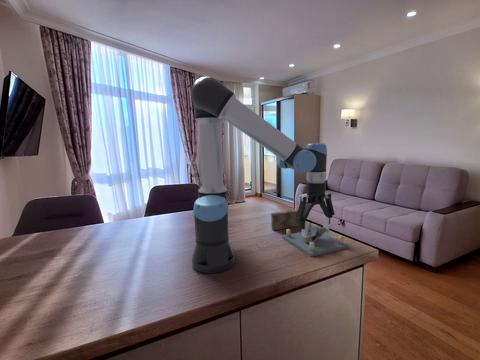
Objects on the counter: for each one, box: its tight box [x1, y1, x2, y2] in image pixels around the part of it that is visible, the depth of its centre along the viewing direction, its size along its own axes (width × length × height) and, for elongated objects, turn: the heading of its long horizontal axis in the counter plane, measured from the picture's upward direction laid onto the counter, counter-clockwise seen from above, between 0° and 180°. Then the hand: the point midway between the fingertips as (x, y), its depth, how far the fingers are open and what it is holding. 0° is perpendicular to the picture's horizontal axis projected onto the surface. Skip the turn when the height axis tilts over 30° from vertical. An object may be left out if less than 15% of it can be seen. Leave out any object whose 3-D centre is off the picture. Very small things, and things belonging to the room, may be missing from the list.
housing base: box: [281, 223, 349, 258], centre depth 104 cm, size 18×20×4 cm
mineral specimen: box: [303, 222, 327, 243], centre depth 102 cm, size 10×8×10 cm
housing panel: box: [270, 208, 300, 231], centre depth 121 cm, size 16×3×8 cm, turn 112°
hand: (315, 234), depth 104 cm, fingers closed on mineral specimen, 10 cm apart
